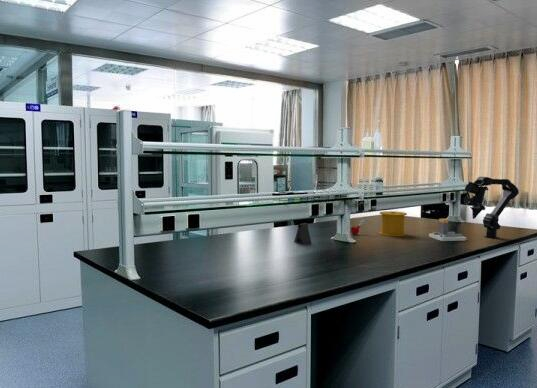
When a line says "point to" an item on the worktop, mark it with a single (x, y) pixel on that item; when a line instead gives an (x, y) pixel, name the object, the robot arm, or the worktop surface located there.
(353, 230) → the molecular model
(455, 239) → the white rail base plate
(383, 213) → the spool
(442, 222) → the breaker handle
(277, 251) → the worktop surface
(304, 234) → the phone stand
